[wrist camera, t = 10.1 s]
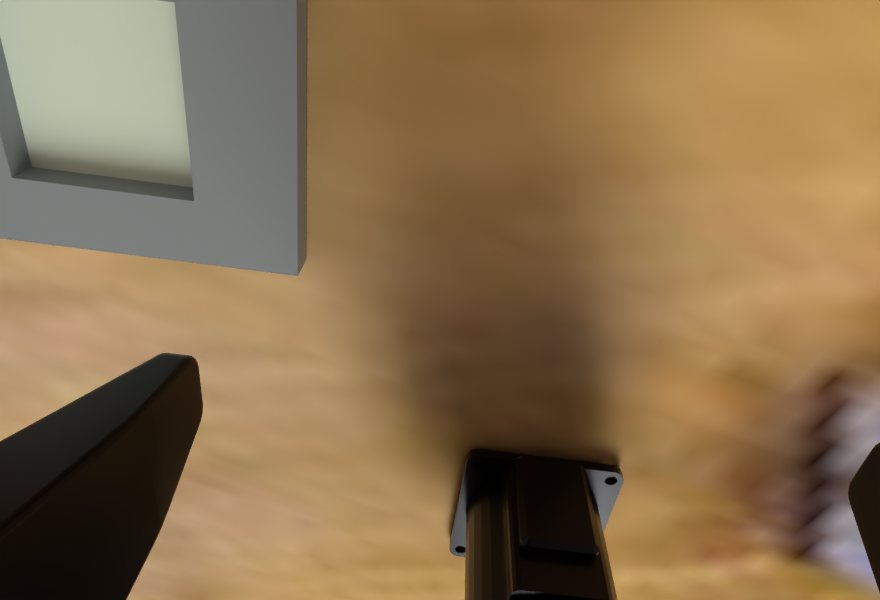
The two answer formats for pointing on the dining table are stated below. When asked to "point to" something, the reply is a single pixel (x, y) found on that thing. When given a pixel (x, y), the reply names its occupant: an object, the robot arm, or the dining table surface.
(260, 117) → the keyhole plate
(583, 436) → the dining table surface
